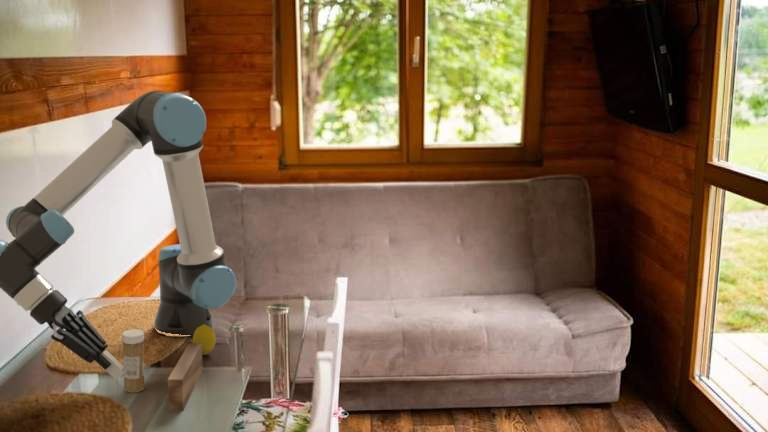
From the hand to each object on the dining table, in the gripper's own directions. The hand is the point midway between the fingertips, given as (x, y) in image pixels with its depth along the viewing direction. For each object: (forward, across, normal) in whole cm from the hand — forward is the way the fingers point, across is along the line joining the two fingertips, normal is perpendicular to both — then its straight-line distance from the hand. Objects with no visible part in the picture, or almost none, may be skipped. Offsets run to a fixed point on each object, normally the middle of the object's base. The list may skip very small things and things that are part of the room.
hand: (121, 374), depth 173 cm
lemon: (+12, -21, +7) cm, 25 cm away
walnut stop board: (+12, -1, +8) cm, 15 cm away
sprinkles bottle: (+4, -1, -1) cm, 5 cm away
